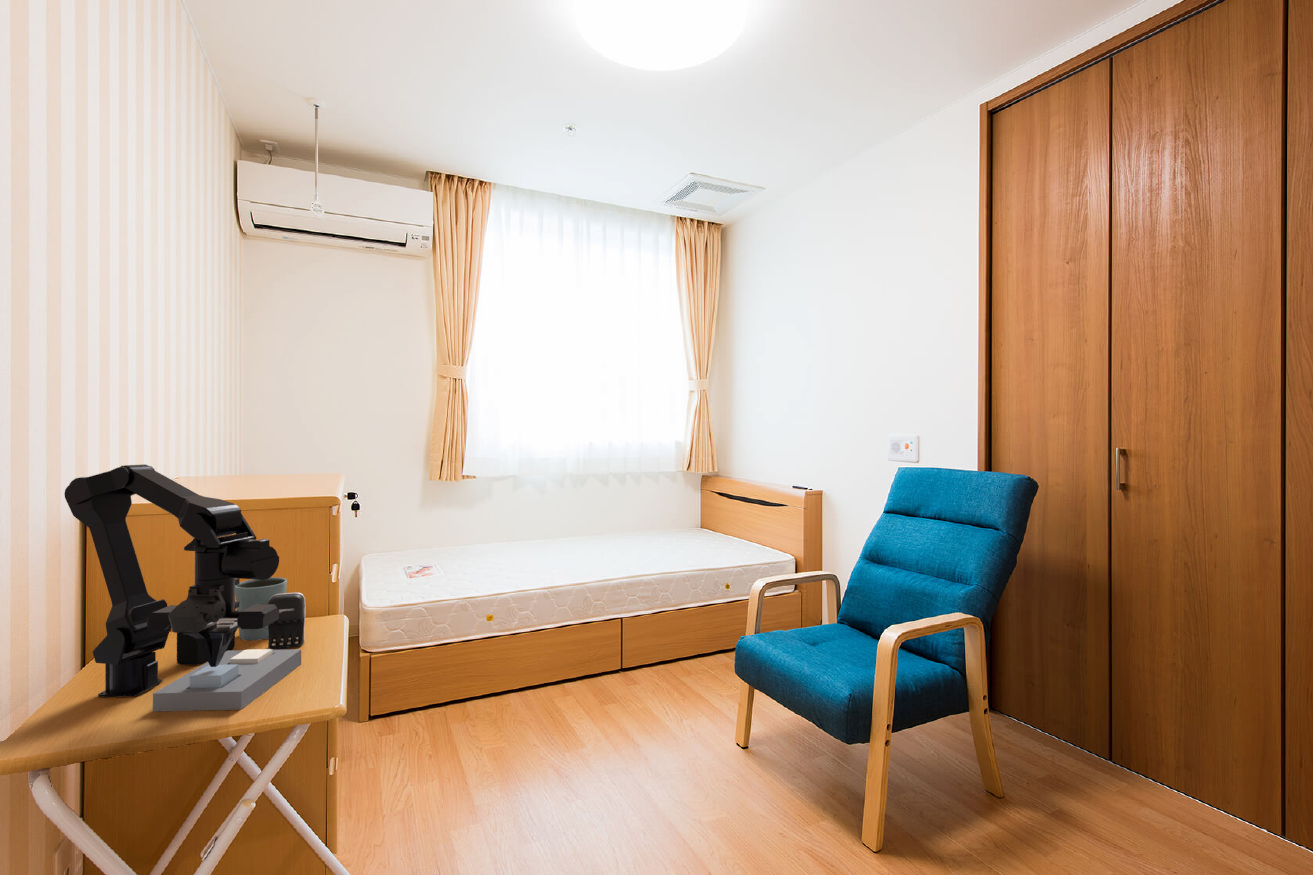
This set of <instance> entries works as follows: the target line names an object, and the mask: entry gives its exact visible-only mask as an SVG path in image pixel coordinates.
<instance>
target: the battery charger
mask: <svg viewBox="0 0 1313 875" xmlns="http://www.w3.org/2000/svg"><path fill="white" fill-rule="evenodd" d="M268 604H275V605H276V607H277V608H278V610H279V619H278V620H276V621H274V622H273V623H271V624H269V625H268V631H269V638H268V646H267V647H268V648H267V649H272V650H287V649H292V648H299V647H301V646H303V645H304V644H305V627H306V626H305V625H306V624H305V623H306V597H305V596H304V594H303V593H301V592H286V593H283V594H276V595H273V596H272V597H271V598H270V600H269V602H268Z"/></svg>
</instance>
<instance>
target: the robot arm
mask: <svg viewBox="0 0 1313 875" xmlns="http://www.w3.org/2000/svg"><path fill="white" fill-rule="evenodd" d="M134 495H137V496H139V497H141V498H143V499H144V500H146V501H148V502H150V503H151V504H152V505H154V506H157V507H158V508H160V509H162V510H164V511H166V512H167V513H168V514H171V515H172V516H174V517H175V518H176V519H177V521H178V523H179V527H180V528H181V529H182V530H183V531H184V532H186V533H187V534H188V535H189V536H190V537H192V538H193V539H192V540H190V542H189V543H187V544H186V545H185V546H184V547H183V551H185V552H194V584H193V585H190V586H189V589H188V591H187V596H186V599H185V600H183V601H181V602H180V603H179V604H176V605H175V604H174V605H168V602H167V601H166V600H165V599H159V600H156V599H155V598H154V597H152V595H150V594H149V592H148V590H147V587H146V583H145V580H144V577H143V573H142V569H141V566H140V563H139V559H138V556H137V553H136V549H135V547H134V544H133V540H132V537H131V534H130V530H129V527H128V523H127V516H128V515H129V512H130V510H131V507H132V505H133V504H132V503H133V501H132V497H133V496H134ZM64 499H65V501H66V503H67V506H68V507H69V510H70V513H71V514H72V515H73V517H74V518H75V519H77V520H78V521H79V522H81V523H82V524H83V525H84V526H86V527H87V528H88V529H89V531H90V532H89V533H90V535H91V538H92V542H93V545H94V548H95V551H96V555H97V558H98V562H99V564H100V569H101V572H102V575H103V578H104V581H105V584H106V585H105V586H106V588H107V591H108V595H109V598H110V601H111V605H112V606H111V608H110V610H109V613H108V616H107V619H106V621H105V628H106V629H105V630H106V636H105V637H104V638H103V639H102V641H100V642H99V643H98V645H97V646H96V647H95V648H94V649H93V650H92V654H93V658H94V662H95V663H96V664H104V665H105V667H104V668H105V670H104V671H105V680H104V682H105V684H104V686H105V689H104V690H102V691H101V692H99V693H98V694H97V698H112V697H113V698H121V697H125V698H126V697H138V696H139V695H142V694H143V693H145V692H147V691H148V690H150V689H152V688H154V687H156V686H158V685H159V684H161V683H162V682H163V680H162V678H159V662H158V660H156V651H158V650H163V649H165V647H166V643H167V640H168V637H169V634H170V632H171V631H172V633H174V634H177V633H179V632H183V633H184V634H188V635H190V636H192V637H194V638H195V639H196V640H197V641H198V643H199V644H200V646H201V648H202V650H203V652H204V654H205V656H206V658H207V662H208V663H209V665H210V667H216V666H218V665H219V664H220V661H221V659H222V657H223V655H224V653H225V651H226V649H227V647H228V645H229V643H230V641H231V639H232V637H233V636H234V634H235V635H236V633H237V631H238V630H239V627H240V628H241V629H260V628H264V627H266V626H267V625H269V624H271V623H273V622H274V621H276V620H278V619H279V610H278V608H277V607H276V605H275V604H259V605H253V606H251V607H249V608H247V609H245V610H243V611H237V608H238V607H239V601H236V597H235V586H236V585H238V584H240V579H243V580H253V579H255V580H266V579H268V578H270V577H273V576H274V574H276V572H277V569H278V568H279V565H280V556H279V555H278V552H277V550H276V549H275V548H274V547H272V546H271V545H270V539H269V538H261V539H257V536H256V534H255V533H254V530H253V529H252V528H251V527H250V526H251V525H249V523H248V521H247V520H246V518H245V517H244V515H243V513H242V509H241V508H240V507H239V505H237V504H235V503H233V502H230V501H228V500H223V499H222V498H221V499H220V498H214V497H209V496H203V495H200V494H198V493H196V492H194V491H192V490H191V489H190V488H188V487H186V486H184V485H182V484H180V483H178V482H176V481H175V480H173V479H170V477H167V476H165V475H163V474H162V473H161V472H158V471H156V469H155V468H154V467H153V466H151V465H148V464H129V465H128V464H127V465H126V464H125V465H121V466H119V467H116V468H114V469H111V470H108V471H104V472H101V473H97V474H94V475H93V474H92V475H90V476H82V477H81V476H80V477H75V478H74V479H73V480H71V481H70V483H69V484H68V485H67V487H65V490H64ZM222 616H226V617H222Z"/></svg>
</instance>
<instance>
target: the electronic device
mask: <svg viewBox="0 0 1313 875" xmlns="http://www.w3.org/2000/svg"><path fill="white" fill-rule="evenodd" d="M222 617H226V616H222ZM235 646H236V633H235V634H234V636H233V637H232V639H231V641H230V643H229V645H228V647H227V649H226V651H230V650H234V649H235ZM226 651H225V652H226ZM207 662H208V661H207V658H206V656H205V654H204V652H203V650H202V648H201V646H200V644H199V643H198V641H197V640H196V639H195V638H194V637H192V636H190V635H188V634H184V633H183V632H179V633H176V664H177V665H182V666H183V665H184V666H202V665H203V664H205V663H207Z"/></svg>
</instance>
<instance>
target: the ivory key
mask: <svg viewBox="0 0 1313 875" xmlns="http://www.w3.org/2000/svg"><path fill="white" fill-rule="evenodd" d="M243 650H244V651H242V652H241V653H239V654H237V655H236V656H234V657H232V658H231V659H230V664H259V663H261V662H262V661H264V660H265V659H267V658H268V657H270V656H271V655H272V650H273V649H269V648H257V649H256V648H255V649H253V648H252V649H243Z"/></svg>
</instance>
